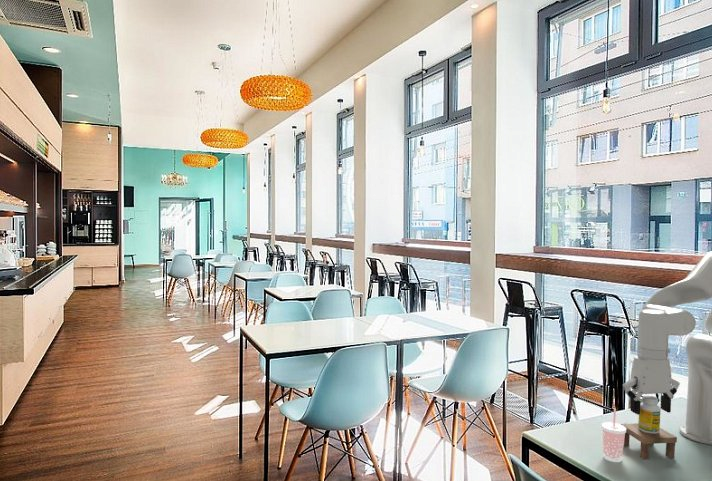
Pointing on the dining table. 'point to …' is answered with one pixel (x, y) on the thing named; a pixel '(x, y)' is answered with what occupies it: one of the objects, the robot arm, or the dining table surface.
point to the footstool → (650, 440)
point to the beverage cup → (613, 440)
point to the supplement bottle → (649, 415)
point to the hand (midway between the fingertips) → (650, 411)
